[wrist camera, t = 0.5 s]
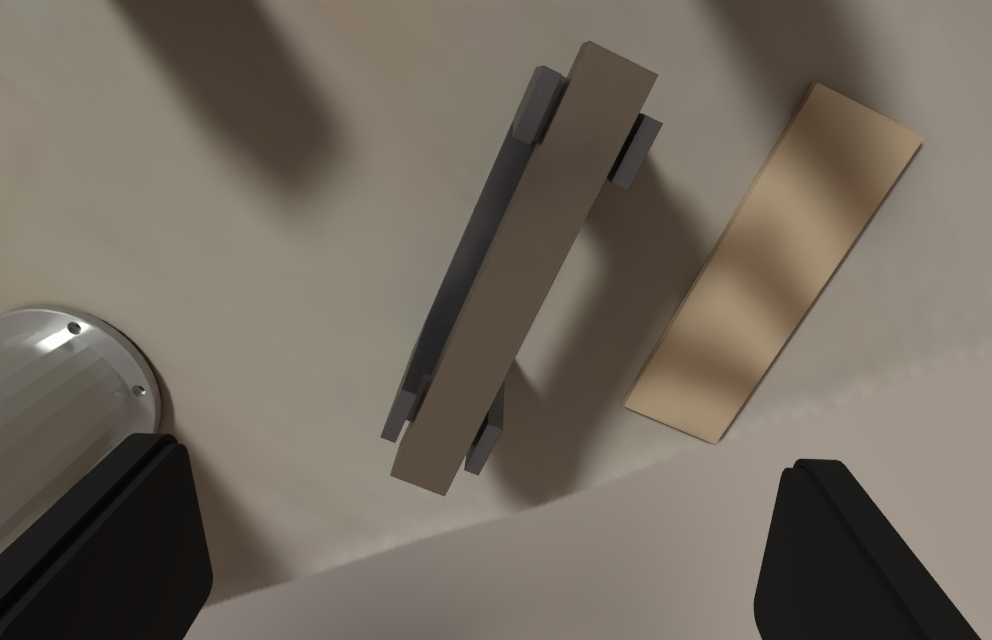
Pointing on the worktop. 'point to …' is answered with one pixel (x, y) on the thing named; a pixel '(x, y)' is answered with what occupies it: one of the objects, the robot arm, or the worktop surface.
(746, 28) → the worktop surface
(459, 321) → the rail
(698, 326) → the mat
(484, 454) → the rack
